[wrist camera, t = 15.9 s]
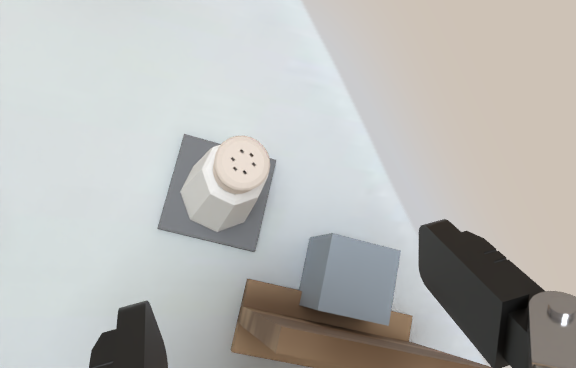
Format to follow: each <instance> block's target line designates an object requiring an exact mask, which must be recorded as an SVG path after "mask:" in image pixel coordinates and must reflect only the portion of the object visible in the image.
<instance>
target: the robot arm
mask: <svg viewBox="0 0 576 368" xmlns="http://www.w3.org/2000/svg"><path fill="white" fill-rule="evenodd" d="M419 272H420V275H421V278H422V280H423V282H424V284H425V286H426V287H427V288H428V290H429V291H430V292H431V293H432V295H433V296H434V297H435V298H436V299H437V301H438V302H439V303H440V304H441V306H442V307H443V308H444V309H445V310H446V312H447V313H448V314H449V315H450V317H451V318H452V319H453V320H454V321H455V323H456V324H457V325H458V326H459V328H460V329H461V330H462V331H463V332H464V334H465V335H466V336H467V337H468V338H469V340H470V341H471V342H472V343H473V345H474V346H475V347H476V348H477V349H478V351H479V352H480V353H481V354H482V356H483V357H484V358H485V359H486V360H487V362H488V363H489V364H490V365H491V367H492V368H502V367H505V366H508V365H510V366H511V367H512V368H576V297H575V296H573V295H570V294H567V293H563V292H557V291H544V290H543V289H542V288H541V287H540V286H539V285H537V284H536V283H535V282H534V281H533V280H531V279H530V278H529V277H528V276H527V275H526V274H525V273H523V272H522V271H521V270H520V269H519V268H518V267H516V266H515V265H514V264H513V263H512V262H510V261H509V260H507V259H506V257H505V256H503V254H501V253H500V252H499V251H496V248H494V247H493V246H492V245H491V244H490V243H489V242H487V241H486V240H485V239H484V238H481V237H480V236H477V235H475V234H473V233H470V232H468V231H464V232H460V231H459V230H458V229H457V228H456V227H455V226H454V225H453V224H452V223H451V222H449V221H448V220H445V219H444V220H440V221H436V222H432V223H429V224H425V225H422V226H421V227H420V228H419ZM89 368H168V362H167V355H166V349H165V345H164V342H163V339H162V336H161V333H160V330H159V328H158V325H157V322H156V319H155V317H154V314H153V311H152V308H151V306H150V303H149V302H148V301H144V302H140V303H136V304H133V305H129V306H125V307H122V308H119V310H118V319H117V329H115V330H111V331H108V332H104V333H102V334H101V336H100V338H99V339H98V341H97V342H96V344H95V346H94V347H93V349H92V352H91V358H90V364H89Z"/></svg>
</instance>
